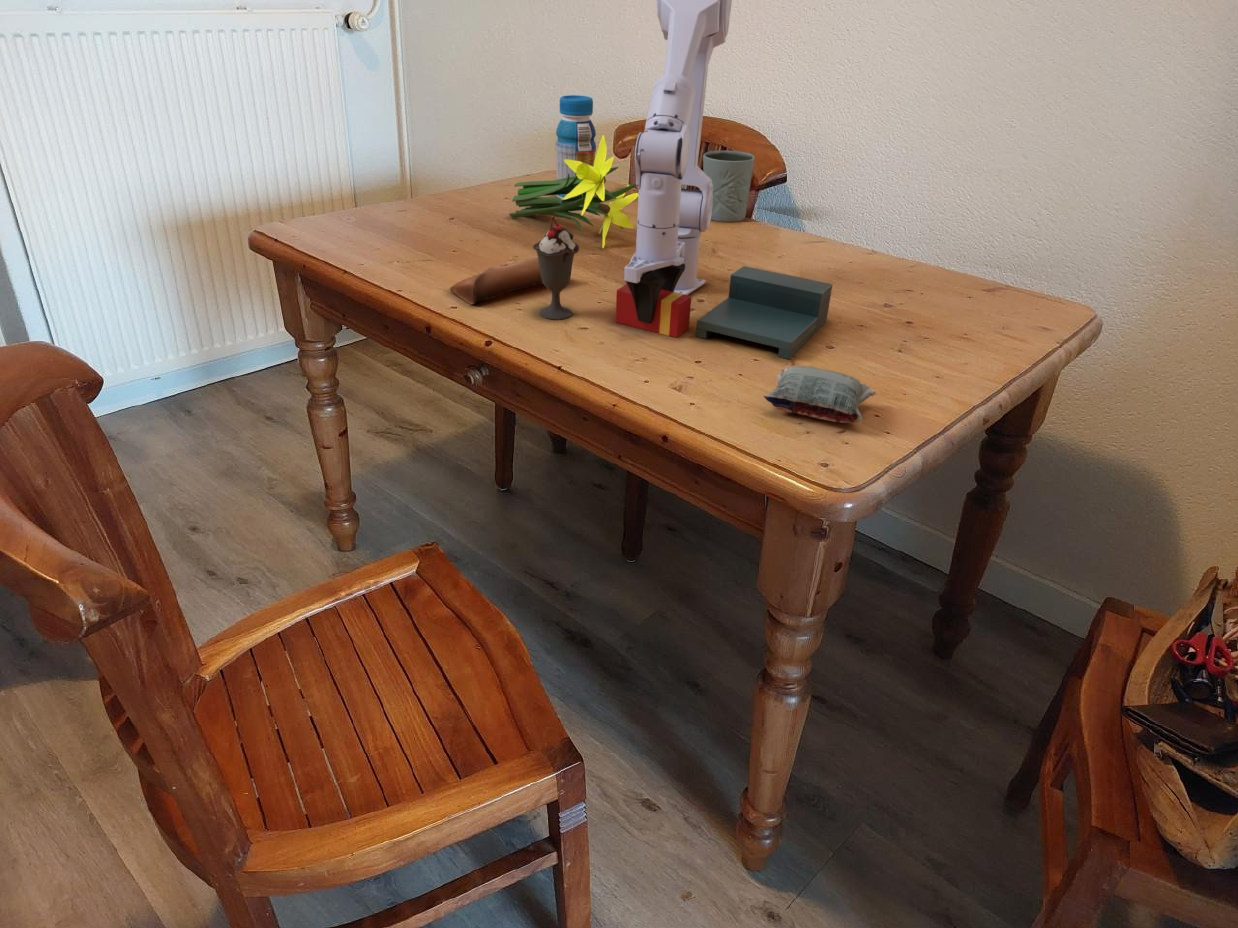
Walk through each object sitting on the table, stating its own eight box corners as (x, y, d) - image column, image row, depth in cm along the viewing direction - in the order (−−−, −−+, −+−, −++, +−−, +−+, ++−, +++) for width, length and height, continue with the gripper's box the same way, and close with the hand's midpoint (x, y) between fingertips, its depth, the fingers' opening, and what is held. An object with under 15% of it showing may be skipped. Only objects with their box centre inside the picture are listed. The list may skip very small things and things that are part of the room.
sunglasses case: (538, 266, 145) (550, 237, 140) (560, 297, 144) (574, 269, 138) (445, 288, 135) (455, 258, 130) (468, 322, 133) (479, 293, 128)
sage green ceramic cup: (750, 224, 174) (757, 162, 167) (699, 222, 174) (705, 159, 167) (745, 210, 182) (751, 151, 176) (696, 208, 182) (701, 149, 176)
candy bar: (615, 322, 127) (616, 289, 124) (628, 314, 130) (630, 281, 127) (676, 338, 123) (679, 304, 120) (689, 328, 126) (691, 295, 123)
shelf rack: (695, 336, 124) (699, 296, 121) (739, 303, 136) (743, 265, 133) (789, 359, 118) (795, 318, 115) (826, 322, 130) (832, 284, 127)
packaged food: (779, 385, 111) (784, 350, 108) (873, 406, 107) (881, 369, 104) (760, 415, 104) (764, 377, 101) (859, 438, 100) (867, 400, 97)
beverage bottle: (551, 201, 183) (551, 99, 173) (560, 191, 190) (560, 93, 180) (590, 204, 182) (592, 102, 172) (598, 194, 189) (600, 95, 179)
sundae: (544, 325, 125) (543, 221, 117) (526, 309, 130) (524, 208, 123) (585, 318, 128) (587, 216, 120) (566, 303, 133) (567, 204, 125)
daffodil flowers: (566, 210, 181) (682, 201, 154) (523, 259, 176) (635, 258, 150) (518, 142, 171) (632, 119, 144) (471, 192, 166) (581, 178, 140)
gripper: (659, 241, 112) (653, 339, 119) (707, 215, 123) (698, 307, 130) (612, 231, 114) (608, 328, 122) (662, 207, 125) (656, 297, 132)
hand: (652, 316), depth 126 cm, fingers closed on candy bar, 4 cm apart
